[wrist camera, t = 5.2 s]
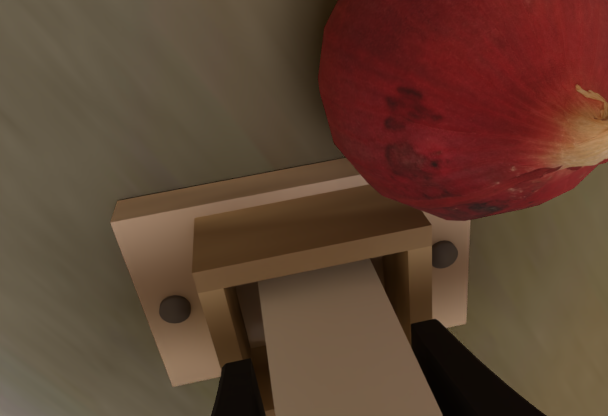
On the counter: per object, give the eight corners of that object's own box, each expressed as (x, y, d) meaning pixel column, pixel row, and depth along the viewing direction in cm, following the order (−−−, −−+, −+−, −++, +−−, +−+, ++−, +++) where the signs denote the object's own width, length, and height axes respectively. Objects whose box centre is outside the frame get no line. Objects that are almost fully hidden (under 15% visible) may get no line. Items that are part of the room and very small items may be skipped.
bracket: (451, 300, 19) (501, 380, 15) (175, 359, 18) (167, 456, 15) (455, 136, 15) (519, 194, 12) (117, 200, 15) (91, 280, 11)
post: (363, 306, 16) (472, 588, 10) (270, 326, 16) (315, 627, 9) (355, 228, 15) (479, 495, 8) (253, 248, 15) (291, 540, 8)
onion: (434, 166, 16) (609, 360, 9) (259, 96, 14) (312, 275, 7) (549, -25, 14) (903, 40, 7) (360, -139, 12) (584, -218, 5)
